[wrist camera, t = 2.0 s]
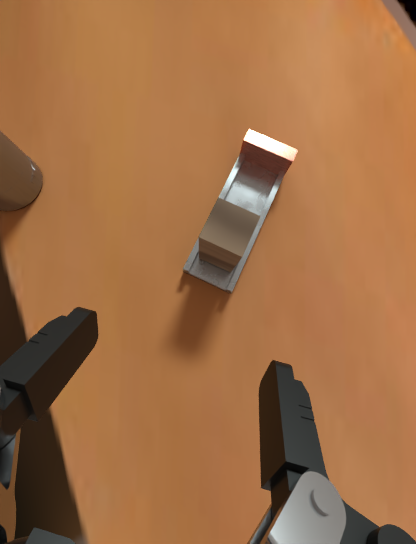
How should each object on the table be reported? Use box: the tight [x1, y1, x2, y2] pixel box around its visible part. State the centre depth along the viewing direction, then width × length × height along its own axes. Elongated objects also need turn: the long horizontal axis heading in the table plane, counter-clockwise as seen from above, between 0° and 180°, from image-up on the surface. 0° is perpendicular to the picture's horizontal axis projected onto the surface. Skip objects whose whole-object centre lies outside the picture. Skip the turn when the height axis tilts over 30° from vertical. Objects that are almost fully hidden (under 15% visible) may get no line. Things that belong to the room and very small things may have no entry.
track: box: [183, 129, 298, 294], centre depth 34 cm, size 22×8×5 cm, turn 155°
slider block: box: [199, 197, 261, 273], centre depth 29 cm, size 5×5×9 cm
